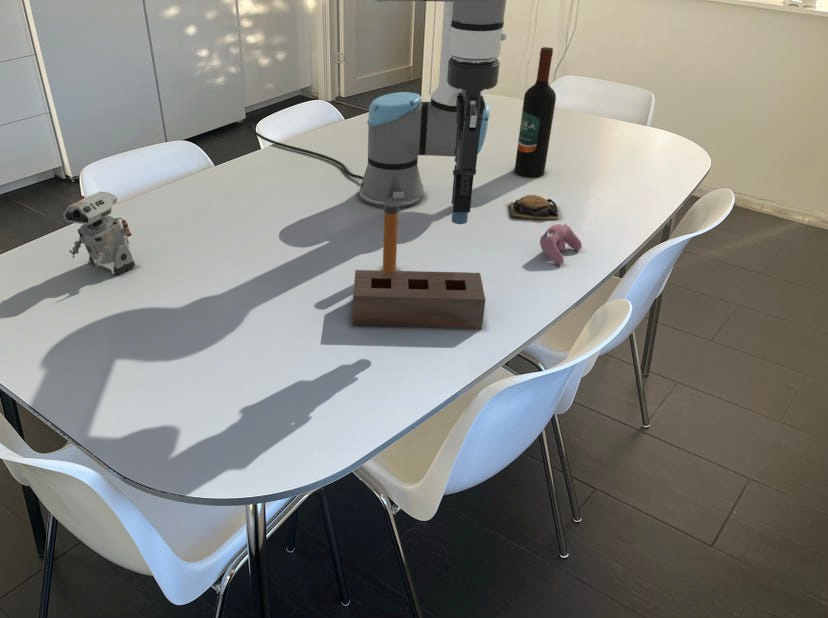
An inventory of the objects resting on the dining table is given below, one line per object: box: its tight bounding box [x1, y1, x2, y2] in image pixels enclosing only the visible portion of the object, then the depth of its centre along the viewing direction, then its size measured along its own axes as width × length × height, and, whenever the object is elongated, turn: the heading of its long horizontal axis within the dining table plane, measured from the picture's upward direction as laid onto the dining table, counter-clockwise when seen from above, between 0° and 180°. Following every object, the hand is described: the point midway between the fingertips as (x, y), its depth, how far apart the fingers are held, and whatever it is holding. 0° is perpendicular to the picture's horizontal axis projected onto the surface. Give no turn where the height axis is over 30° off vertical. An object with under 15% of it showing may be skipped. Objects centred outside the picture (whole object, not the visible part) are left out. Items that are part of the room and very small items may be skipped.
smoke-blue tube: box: [451, 137, 469, 225], centre depth 119 cm, size 3×3×14 cm
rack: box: [352, 269, 486, 330], centre depth 130 cm, size 10×22×6 cm, turn 87°
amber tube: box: [382, 201, 400, 271], centre depth 141 cm, size 3×3×14 cm
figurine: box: [62, 191, 136, 276], centre depth 141 cm, size 9×12×15 cm
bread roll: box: [509, 194, 559, 221], centre depth 167 cm, size 11×8×4 cm
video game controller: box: [539, 223, 583, 266], centre depth 149 cm, size 10×5×7 cm, turn 141°
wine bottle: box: [514, 46, 557, 179], centre depth 180 cm, size 8×8×30 cm
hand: (460, 207), depth 121 cm, fingers closed on smoke-blue tube, 2 cm apart
